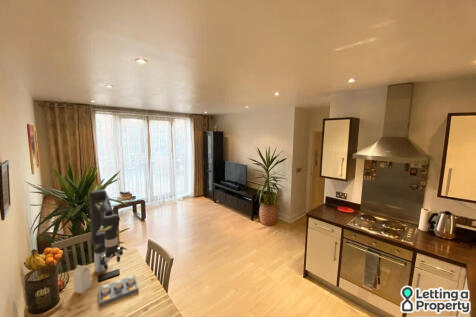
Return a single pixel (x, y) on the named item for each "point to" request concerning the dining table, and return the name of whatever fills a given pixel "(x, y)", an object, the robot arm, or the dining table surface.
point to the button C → (130, 280)
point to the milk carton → (81, 279)
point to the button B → (118, 284)
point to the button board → (117, 292)
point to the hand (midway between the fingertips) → (112, 265)
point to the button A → (105, 289)
